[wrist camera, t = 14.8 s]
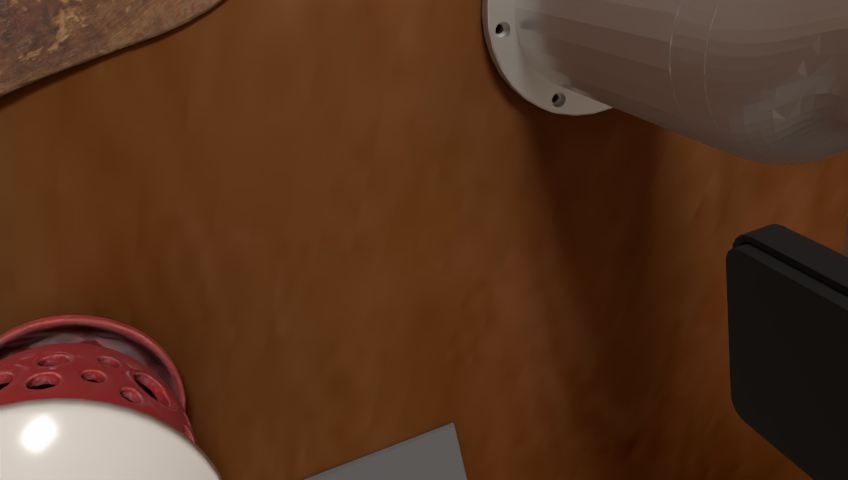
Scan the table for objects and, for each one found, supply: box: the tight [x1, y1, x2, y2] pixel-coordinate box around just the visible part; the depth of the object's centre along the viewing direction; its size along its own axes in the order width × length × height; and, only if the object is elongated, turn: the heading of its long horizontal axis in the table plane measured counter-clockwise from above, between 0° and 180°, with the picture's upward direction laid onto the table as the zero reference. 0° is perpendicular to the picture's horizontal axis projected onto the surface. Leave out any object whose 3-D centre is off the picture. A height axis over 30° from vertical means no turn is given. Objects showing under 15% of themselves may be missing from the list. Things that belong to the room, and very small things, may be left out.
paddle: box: [0, 0, 223, 97], centre depth 36 cm, size 8×30×2 cm, turn 121°
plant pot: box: [0, 315, 198, 446], centre depth 39 cm, size 13×13×12 cm
